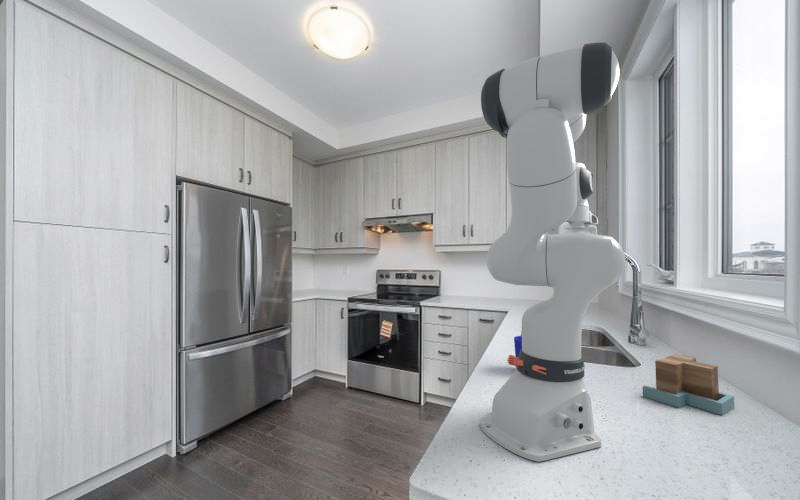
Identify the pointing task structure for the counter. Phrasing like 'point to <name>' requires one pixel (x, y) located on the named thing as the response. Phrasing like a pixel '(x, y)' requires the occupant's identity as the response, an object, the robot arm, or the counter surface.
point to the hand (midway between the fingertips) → (573, 263)
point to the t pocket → (691, 400)
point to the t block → (687, 376)
